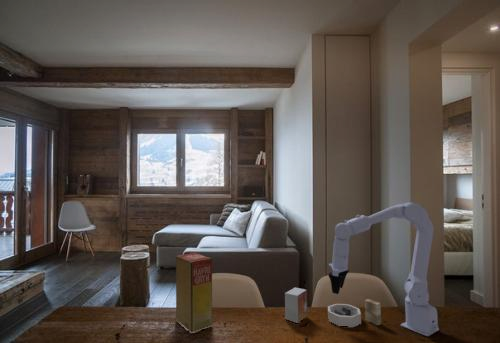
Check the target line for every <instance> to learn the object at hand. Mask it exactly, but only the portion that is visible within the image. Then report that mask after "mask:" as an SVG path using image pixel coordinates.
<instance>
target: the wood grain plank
mask: <svg viewBox="0 0 500 343" xmlns="http://www.w3.org/2000/svg"><path fill="white" fill-rule="evenodd" d="M381 315H382V313H381V302H378V301H375V300H372V299H369V298H367V299H365V300H364V318H365V320H366V321H365V322H367V323H370V322H371V323H370V324H372V323H373V325H374V326H377V325H378V326H379V325H381V324H382V316H381Z"/></svg>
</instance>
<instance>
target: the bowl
mask: <svg viewBox="0 0 500 343" xmlns="http://www.w3.org/2000/svg"><path fill="white" fill-rule="evenodd" d="M344 306H345V307H348V308H350V309H353V316H341V315H337V314H335V310H336V309H338V310H341V311H342V307H344ZM361 312H362V311H361V310H360V308H359V307H356V306H353V305H351V304H347V303H334V304H331V305H328V306H327V318H328V319H329V320H328V322H329V321H330V322H329V323H331V322H332V323H331V324H333V323H334V324H333V325H335V324H336V326H337V325H338V326H337V327H340V326H348V327H347V328H354V327H357V326H359V324H360V325H362V313H361Z"/></svg>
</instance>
